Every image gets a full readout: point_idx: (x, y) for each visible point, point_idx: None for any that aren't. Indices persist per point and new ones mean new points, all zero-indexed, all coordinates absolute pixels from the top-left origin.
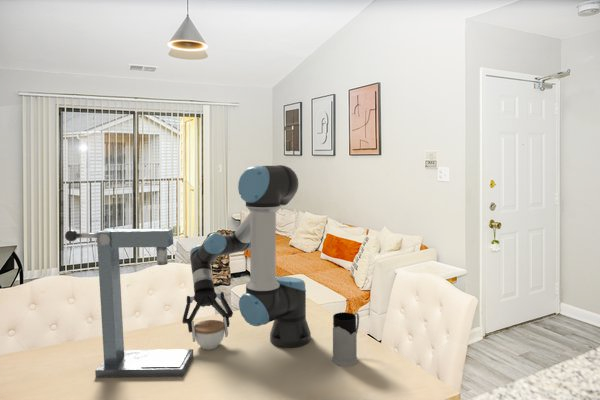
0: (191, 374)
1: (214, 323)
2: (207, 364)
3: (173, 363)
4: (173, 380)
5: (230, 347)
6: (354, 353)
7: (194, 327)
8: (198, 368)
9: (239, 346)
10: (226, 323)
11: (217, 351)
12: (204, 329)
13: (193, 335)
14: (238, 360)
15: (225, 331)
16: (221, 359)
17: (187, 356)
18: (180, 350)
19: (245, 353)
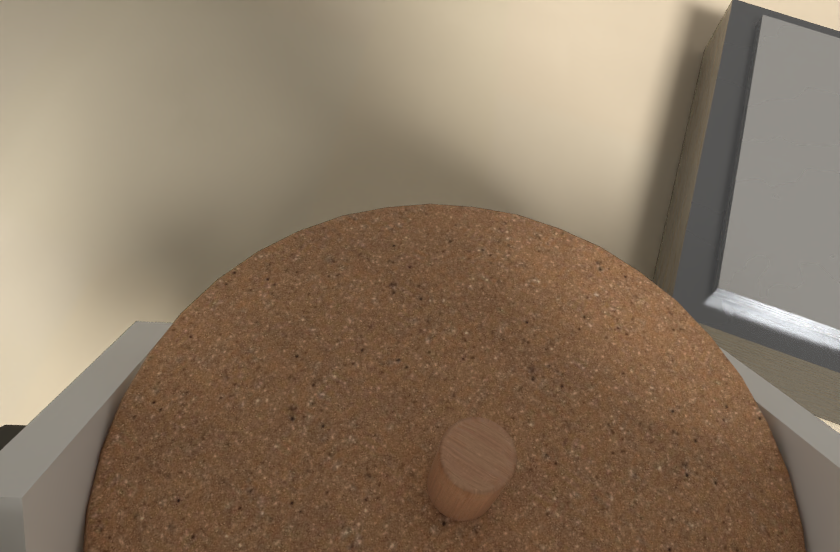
0: (636, 52)
1: (325, 515)
2: (498, 138)
3: (831, 72)
4: None
5: None
6: None
7: (791, 488)
8: (581, 108)
9: (37, 388)
10: (56, 399)
11: None
12: (577, 278)
13: (740, 369)
14: (204, 98)
15: None
16: (353, 172)
17: (717, 173)
18: (828, 306)
19: (69, 193)
